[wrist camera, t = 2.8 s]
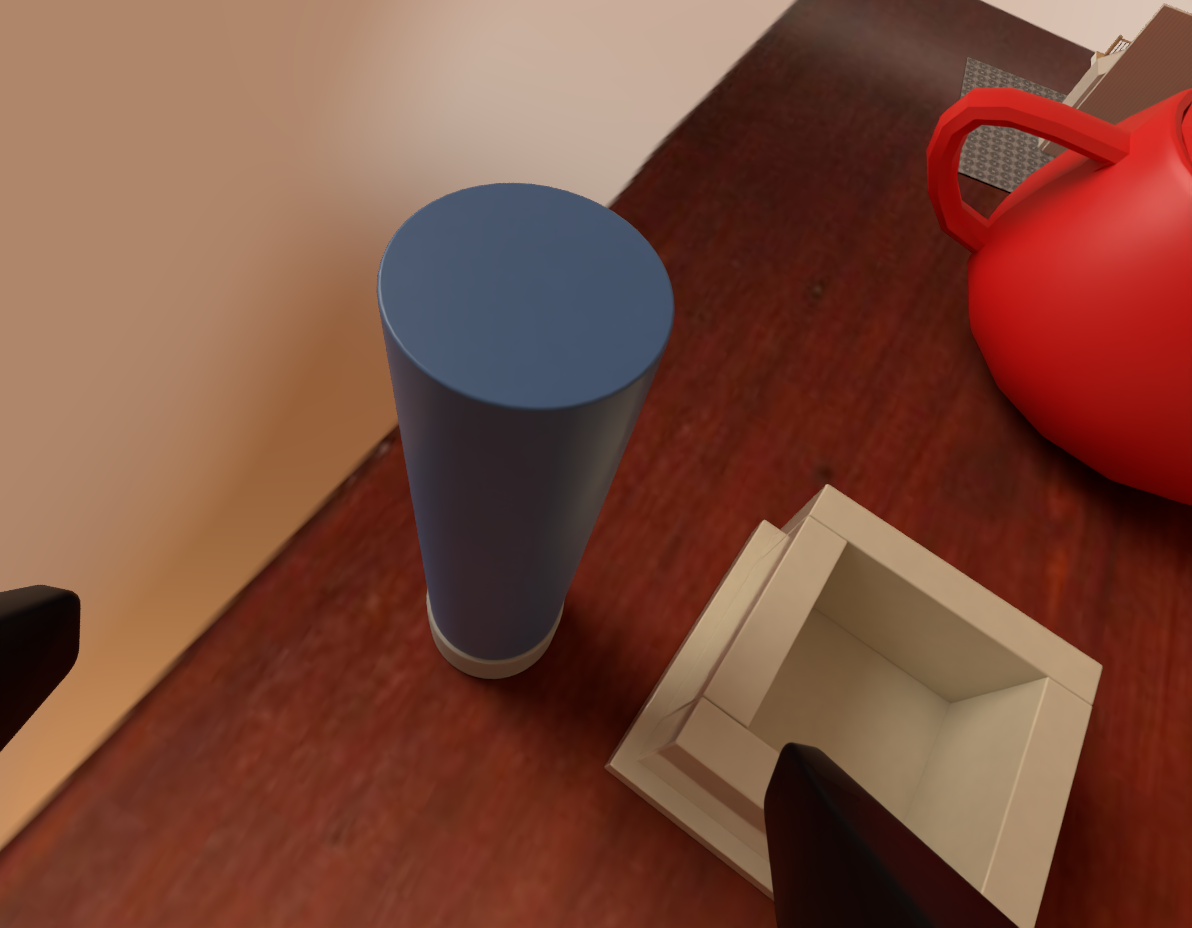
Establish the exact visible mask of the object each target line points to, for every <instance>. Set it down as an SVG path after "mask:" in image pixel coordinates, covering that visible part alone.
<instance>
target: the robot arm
mask: <svg viewBox="0 0 1192 928" xmlns="http://www.w3.org/2000/svg"><path fill="white" fill-rule="evenodd" d="M79 638H80V599H79V597H78V595H77V594H75V593H74V592H73V591H69V590H65V589H60V588H56V587H50V586H46V585H35V586H30V587H25V588H20V589H15V590H9V591H4V592H0V752H1V751H2V749H3V748H4V747H5V746H6V745H7V744H8V743H9V741H10V740H11V739H12V738H13V736H15V734H16V733H17V732H18V731H19V730H20V729H21V728H22V726H23V725H24V724H25V723H26V722H27V720H28V719H29V718H30V717H31V716H32V715H33V714H34V712H35V711H36V710H37V709H38V708H39V707H40V705H41V704H42V703H43V702H44V701H45V700H46V698H47V697H48V696H49V695H50V694H51V693H52V691H53V690H54V689H55V688H56V687H57V686H58V685H59V683H60V682H61V681H62V680H63V679H64V678H65V676H66V675H67V674H68V673H69V672H70V670H71V669H72V667H73V666H74V664H75V662H76V659H77V656H78V653H79ZM764 819H765V827H766V836H767V845H768V853H769V862H770V870H771V879H772V888H773V896H774V905H775V913H776V920H777V927H778V928H1019V927H1018V926H1017V925H1016V924H1015V923H1014V922H1012V921H1011V920H1010V919H1009V918H1008V917H1007V916H1006V915H1005V914H1004V913H1002V912H1001V911H1000V910H999V909H998V908H997V907H996V906H995V905H993V904H992V903H991V902H990V901H989V900H988V899H987V898H986V897H985V896H983V895H982V894H981V893H980V892H979V891H978V890H977V889H976V888H974V887H973V886H972V885H971V884H970V883H969V882H968V881H967V880H966V879H964V878H963V877H962V876H961V875H960V874H959V873H958V872H957V871H955V870H954V869H953V868H952V867H951V866H950V865H949V864H948V863H947V862H945V861H944V860H943V859H942V858H941V857H940V856H939V855H938V854H936V853H935V852H934V851H933V850H932V849H931V848H930V847H929V846H928V845H926V844H925V843H924V842H923V841H922V840H921V839H920V838H919V837H917V836H916V835H915V834H914V833H913V832H912V831H911V830H910V829H909V828H907V827H906V826H905V825H904V824H903V823H902V822H901V821H900V820H899V819H897V818H896V817H895V816H894V815H893V814H892V813H891V812H890V811H888V810H887V809H886V808H885V807H884V806H883V805H882V804H881V803H880V802H878V801H877V800H876V799H875V798H874V797H873V796H872V795H871V794H869V793H868V792H867V791H866V790H865V789H864V788H863V787H862V786H861V785H859V784H858V783H857V782H856V781H855V780H854V779H853V778H852V777H851V776H849V775H848V774H847V773H846V772H845V771H844V770H843V769H842V768H840V767H839V766H838V765H837V764H836V763H835V762H834V761H833V760H832V759H830V758H829V757H828V756H827V755H826V754H825V753H824V752H823V751H822V750H820V749H819V748H817V747H814V746H809V745H804V744H799V743H794V742H789V743H787V744H785V745H784V747H783V748H782V750H781V752H780V754H779V757H778V760H777V763H776V765H775V768H774V771H773V773H772V776H771V779H770V782H769V784H768V787H767V790H766V793H765V798H764Z"/></svg>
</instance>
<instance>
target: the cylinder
mask: <svg viewBox="0 0 1192 928" xmlns="http://www.w3.org/2000/svg"><path fill="white" fill-rule="evenodd" d="M377 297H378V305H379V310H380V317H381V322H382V328H383V334H384V340H385V345H386V351H387V357H388V363H389V368H390V374H391V380H392V386H393V392H394V398H395V403H396V409H397V415H398V421H399V426H400V432H401V438H402V444H403V450H404V455H405V461H406V467H407V473H408V478H409V484H410V490H411V496H412V502H413V507H414V513H415V519H416V525H417V530H418V536H419V542H420V548H421V554H422V559H423V565H424V571H425V577H426V582H427V588H428V590H427V611H428V617H429V622H430V627H431V632H432V635H433V639H434V641H435V643H436V646H437V648H438V649H439V651H440V652H441V654H442V655H443V656H444V657H445V659H446V660H447V661H448V662H449V663H450V664H452V665H453V666H454V667H456V668H457V669H459V670H460V671H462V672H464V673H466V674H468V675H471V676H474V677H479V678H484V679H499V678H505V677H510V676H513V675H515V674H518V673H520V672H522V671H524V670H526V669H527V668H529V667H530V666H532V665H533V664H534V663H535V662H536V661H537V660H539V659H540V657H541V656H542V655H543V654H544V653H545V651H546V650H547V648H548V647H549V645H550V643H551V641H552V639H553V636H554V634H555V631H556V629H557V627H558V624H559V622H560V619H561V616H562V612H563V607H564V600H565V597H566V595H567V592H568V590H569V587H570V585H571V582H572V580H573V577H574V575H575V572H576V570H577V567H578V565H579V562H580V560H581V558H582V555H583V553H584V550H585V548H586V545H587V543H588V540H589V538H590V535H591V533H592V530H593V528H594V525H595V523H596V520H597V518H598V515H599V513H600V510H601V508H602V505H603V503H604V500H605V498H606V496H607V493H608V491H609V488H610V486H611V483H612V481H613V478H614V476H615V473H616V471H617V468H618V466H619V463H620V461H621V458H622V456H623V453H624V451H625V448H626V446H627V443H628V441H629V438H630V436H631V434H632V431H633V429H634V426H635V424H636V421H637V419H638V416H639V414H640V411H641V409H642V406H643V404H644V401H645V399H646V396H647V394H648V391H649V389H650V386H651V384H652V381H653V379H654V376H655V374H656V371H657V369H658V367H659V364H660V362H661V359H662V357H663V354H664V352H665V349H666V347H667V344H668V342H669V338H670V335H671V332H672V329H673V322H674V314H675V310H674V296H673V292H672V287H671V282H670V279H669V277H668V274H667V271H666V269H665V267H664V265H663V263H662V261H661V260H660V258H659V256H658V254H657V253H656V252H655V250H654V249H653V247H652V246H651V245H650V243H649V242H648V241H647V240H646V239H645V238H644V237H643V236H642V235H641V234H640V232H639V231H637V230H636V229H635V228H634V227H633V226H632V225H631V224H629V223H628V222H627V221H626V220H624V219H623V218H621V217H620V216H619V215H617V214H616V213H614V212H613V211H611V210H609V209H608V208H606V207H604V206H602V205H600V204H598V203H597V202H594V201H592V200H590V199H587V198H585V197H583V196H580V195H577V194H574V193H571V192H568V191H565V190H561V189H557V188H552V187H549V186H541V185H535V184H524V183H498V184H497V183H496V184H489V185H481V186H475V187H471V188H467V189H462V190H460V191H457V192H454V193H451V194H448V195H446V196H443V197H441V198H440V199H437V200H435V201H433V202H431V203H429V204H428V205H426V206H425V207H423V208H421V209H420V210H418V211H417V212H416V213H415V214H414V215H412V216H411V217H410V218H409V219H408V220H406V221H405V223H404V224H403V225H402V226H401V227H400V228H399V229H398V230H397V231H396V233H395V235H394V236H393V237H392V239H391V241H390V242H389V244H388V245H387V248H386V250H385V252H384V255H383V257H382V259H381V262H380V267H379V271H378V275H377Z"/></svg>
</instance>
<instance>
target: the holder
mask: <svg viewBox="0 0 1192 928" xmlns="http://www.w3.org/2000/svg"><path fill="white" fill-rule="evenodd" d="M1102 668H1103V667H1102V665H1101V664H1099V663H1098V662H1096V661H1095V660H1093V659H1092V658H1090V657H1089V656H1087V655H1086V654H1084V653H1083V652H1081V651H1080V650H1078V649H1077V648H1075V647H1074V646H1072V645H1071V644H1069V643H1068V642H1066V641H1065V640H1063V639H1062V638H1060V637H1059V636H1057V635H1056V634H1054V633H1053V632H1051V631H1049V630H1048V629H1046V628H1045V627H1043V626H1042V625H1040V624H1039V623H1037V622H1036V621H1034V620H1033V619H1031V618H1030V617H1028V616H1027V615H1025V614H1024V613H1022V612H1021V611H1019V610H1018V609H1016V608H1015V607H1013V606H1012V605H1010V604H1009V603H1007V602H1006V601H1004V600H1003V599H1001V598H1000V597H998V596H997V595H995V594H994V593H992V592H991V591H989V590H988V589H986V588H985V587H983V586H981V585H980V584H978V583H977V582H975V581H974V580H972V579H971V578H969V577H968V576H966V575H965V574H963V573H962V572H960V571H959V570H957V569H956V568H954V567H953V566H951V565H950V564H948V563H947V562H945V561H944V560H942V559H941V558H939V557H938V556H936V555H935V554H933V553H932V552H930V551H929V550H927V549H926V548H924V547H923V546H921V545H920V544H918V543H917V542H915V541H913V540H912V539H910V538H909V537H907V536H906V535H904V534H903V533H901V532H900V531H898V530H897V529H895V528H894V527H892V526H891V525H889V524H888V523H886V522H885V521H883V520H882V519H880V518H879V517H877V516H876V515H874V514H873V513H871V512H870V511H868V510H867V509H865V508H864V507H862V506H861V505H859V504H858V503H856V502H855V501H853V500H852V499H850V498H849V497H847V496H845V495H844V494H842V493H841V492H839V491H838V490H836V489H835V488H833V487H832V486H830V485H828V484H827V485H825V486H824V487H823V488H822V489H821V490H820V491H819V492H818V493H817V494H816V495H815V496H814V497H813V498H812V499H811V500H810V501H809V502H808V503H807V504H806V505H805V506H804V507H803V508H802V509H801V510H800V511H799V512H798V513H797V514H796V515H795V516H794V517H793V518H792V519H791V520H790V521H789V522H788V523H787V524H786V525H785V526H784V527H783V528H782V529H781V530H779V529H778V528H776V527H775V526H773V525H772V524H770V523H769V522H767V521H766V520H763V521H762V522H761V523H760V524H759V525H758V526H757V527H756V528H755V529H754V530H753V532H752V533H751V535H750V537H749V538H748V540H747V541H746V543H745V544H744V546H743V548H742V549H741V551H740V552H739V554H738V556H737V557H736V559H735V560H734V562H733V563H732V565H731V567H730V568H729V570H728V571H727V573H726V575H725V576H724V578H723V579H722V581H721V582H720V584H719V586H718V587H717V589H716V590H715V592H714V594H713V595H712V597H711V598H710V600H709V601H708V603H707V605H706V606H705V608H704V609H703V611H702V613H701V614H700V616H699V617H698V619H697V620H696V622H695V624H694V625H693V627H692V628H691V630H690V631H689V633H688V635H687V636H686V638H685V639H684V641H683V643H682V644H681V646H680V647H679V649H678V650H677V652H676V654H675V655H674V657H673V658H672V660H671V662H670V663H669V665H668V666H667V668H666V669H665V671H664V673H663V674H662V676H661V677H660V679H659V681H658V682H657V684H656V685H655V687H654V688H653V690H652V692H651V693H650V695H649V696H648V698H647V699H646V701H645V703H644V704H643V706H642V707H641V709H640V711H639V712H638V714H637V715H636V717H635V718H634V720H633V722H632V723H631V725H630V726H629V728H628V730H627V731H626V733H625V734H624V736H623V737H622V739H621V741H620V742H619V744H618V745H617V747H616V749H615V750H614V752H613V753H612V755H611V756H610V758H609V760H608V761H607V763H606V764H605V767H604V768H605V769H606V770H607V771H608V772H610V773H611V774H612V775H614V776H615V777H616V778H617V779H619V780H620V781H621V782H622V783H624V784H625V785H626V786H628V787H629V788H630V789H631V790H633V791H634V792H635V793H636V794H638V795H639V796H640V797H642V798H643V799H644V800H645V801H647V802H648V803H649V804H650V805H652V806H653V807H654V808H656V809H657V810H658V811H659V812H661V813H662V814H663V815H664V816H666V817H667V818H668V819H670V820H671V821H672V822H673V823H675V824H676V825H677V826H678V827H680V828H681V829H682V830H684V831H685V832H686V833H687V834H689V835H690V836H691V837H692V838H694V839H695V840H696V841H698V842H699V843H700V844H701V845H703V846H704V847H705V848H706V849H708V850H709V851H710V852H712V853H713V854H714V855H715V856H717V857H718V858H719V859H721V860H722V861H723V862H724V863H726V864H727V865H728V866H729V867H731V868H732V869H733V870H735V871H736V872H737V873H738V874H740V875H741V876H742V877H743V878H745V879H746V880H747V881H749V882H750V883H751V884H752V885H754V886H755V887H756V888H757V889H759V890H760V891H761V892H763V893H764V894H765V895H766V896H768V897H769V898H770V899H771V900H773V901H774V896H773V888H772V879H771V870H770V862H769V853H768V845H767V836H766V827H765V819H764V798H765V793H766V790H767V787H768V784H769V782H770V779H771V776H772V773H773V771H774V768H775V765H776V763H777V760H778V757H779V754H780V752H781V750H782V748H783V747H784V745H785V744H787V743H789V742H794V743H799V744H804V745H809V746H814V747H817V748H819V749H820V750H822V751H823V752H824V753H825V754H826V755H827V756H828V757H829V758H830V759H832V760H833V761H834V762H835V763H836V764H837V765H838V766H839V767H840V768H842V769H843V770H844V771H845V772H846V773H847V774H848V775H849V776H851V777H852V778H853V779H854V780H855V781H856V782H857V783H858V784H859V785H861V786H862V787H863V788H864V789H865V790H866V791H867V792H868V793H869V794H871V795H872V796H873V797H874V798H875V799H876V800H877V801H878V802H880V803H881V804H882V805H883V806H884V807H885V808H886V809H887V810H888V811H890V812H891V813H892V814H893V815H894V816H895V817H896V818H897V819H899V820H900V821H901V822H902V823H903V824H904V825H905V826H906V827H907V828H909V829H910V830H911V831H912V832H913V833H914V834H915V835H916V836H917V837H919V838H920V839H921V840H922V841H923V842H924V843H925V844H926V845H928V846H929V847H930V848H931V849H932V850H933V851H934V852H935V853H936V854H938V855H939V856H940V857H941V858H942V859H943V860H944V861H945V862H947V863H948V864H949V865H950V866H951V867H952V868H953V869H954V870H955V871H957V872H958V873H959V874H960V875H961V876H962V877H963V878H964V879H966V880H967V881H968V882H969V883H970V884H971V885H972V886H973V887H974V888H976V889H977V890H978V891H979V892H980V893H981V894H982V895H983V896H985V897H986V898H987V899H988V900H989V901H990V902H991V903H992V904H993V905H995V906H996V907H997V908H998V909H999V910H1000V911H1001V912H1002V913H1004V914H1005V915H1006V916H1007V917H1008V918H1009V919H1010V920H1011V921H1012V922H1014V923H1015V924H1016V925H1017V926H1018V927H1019V928H1034V927H1035V923H1036V919H1037V916H1038V912H1039V908H1040V904H1041V900H1042V897H1043V893H1044V889H1045V885H1046V881H1047V878H1048V874H1049V870H1050V866H1051V863H1052V859H1053V855H1054V851H1055V847H1056V844H1057V840H1058V836H1059V832H1060V828H1061V825H1062V821H1063V817H1064V813H1065V809H1066V806H1067V802H1068V798H1069V794H1070V790H1071V787H1072V783H1073V779H1074V775H1075V771H1076V768H1077V764H1078V760H1079V756H1080V753H1081V749H1082V745H1083V741H1084V737H1085V734H1086V730H1087V726H1088V722H1089V718H1090V715H1091V711H1092V706H1091V705H1092V704H1093V702H1094V698H1095V695H1096V691H1097V687H1098V683H1099V679H1100V676H1101V672H1102Z"/></svg>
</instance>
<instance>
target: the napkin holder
mask: <svg viewBox="0 0 1192 928" xmlns="http://www.w3.org/2000/svg"><path fill="white" fill-rule="evenodd" d="M1122 38H1123V36H1121V35H1120V36H1119V37H1118V38H1117V39H1116V40H1115V42H1114V43H1113V44H1112V45H1111V47H1110V48H1109V49H1108V50H1107V52H1106V53H1105V54H1103V53H1100V52H1098V51H1097V52H1096V53H1095V54H1094V56H1093V57H1092V58H1091V68H1090V69H1089V70H1088V72H1087V73H1086V74H1085V75H1084V76H1083V78H1082V79H1081V80H1080V81H1079V83H1078V84H1077V85H1076V86H1075V88H1074V89H1073V90H1072V91H1071V92H1070V94H1069V95H1068V96H1066V97H1065V99H1064V100H1063V101H1062V102H1061V103H1063V104H1066V105H1068V106H1071V107H1073V108H1075V109H1078V110H1080V111H1082V112H1085V113H1087V114H1089V115H1092V116H1094V117H1096V118H1099V119H1101V120H1104V121H1106V122H1108V123H1111V124H1113V125H1116V124H1118V123H1120V122H1121V121H1123V120H1125V119H1127V118H1129V117H1131V116H1133V115H1135V114H1137V113H1139V112H1141V111H1143V110H1145V109H1147V108H1149V107H1151V106H1153V105H1155V104H1157V103H1159V102H1161V101H1163V100H1165V99H1167V98H1169V97H1171V96H1173V95H1176V94H1178V93H1180V92H1182V91H1184V90H1187V89H1190V88H1192V14H1191V13H1188V12H1186V11H1183V10H1180V9H1178V8H1175V7H1172V6H1170V5H1167V4H1163V5H1162V6H1161V8H1160V9H1159V10H1158V11H1157V12H1156V14H1155V15H1154V16H1153V17H1152V18H1151V19H1150V21H1149V22H1148V23H1147V24H1146V25H1145V27H1144V28H1143V29H1142V30H1141V32H1140V33H1139V34H1138V35H1137V36H1136V37H1135V39H1134V40H1133V41H1132V42H1130V41H1127V40H1125V39H1122ZM1120 40H1122V41H1124V42H1127V43H1129V45H1128V46H1127V47H1126V49H1124V50H1121V51H1118V52H1116V53H1112V54H1110V55H1109V53H1110V52H1111V51H1112V50H1113V49H1114V47H1115V46H1116V45H1117V44H1118V43H1119V41H1120ZM1099 80H1100V81H1099ZM1094 86H1095V87H1094ZM1038 141H1039V142H1038V143H1039V144H1038V145H1039V146H1038V147H1039V148H1041V149H1042V151H1043V152H1046V153H1049V154H1052V155H1055V156H1059V155H1060V154H1062V153H1063V152H1065V151H1066V150H1068V148H1065V147H1063V146H1061V145H1058V144H1056V143H1054V142H1051V141H1048V140H1045V139H1043V138H1039V140H1038Z"/></svg>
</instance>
